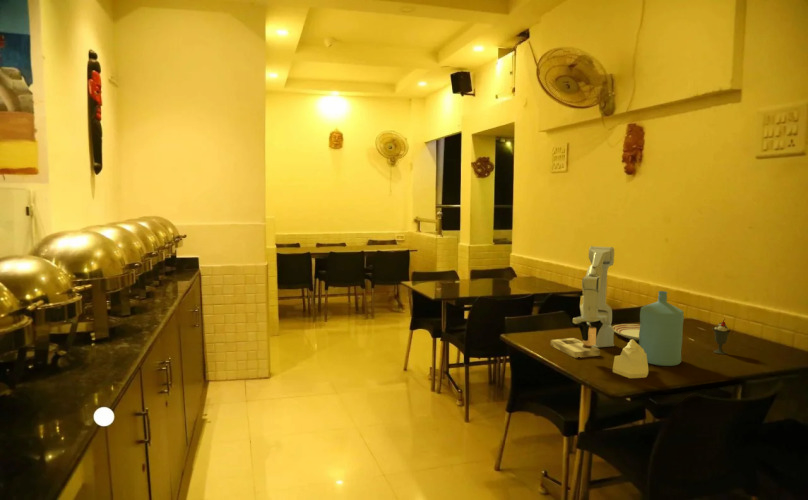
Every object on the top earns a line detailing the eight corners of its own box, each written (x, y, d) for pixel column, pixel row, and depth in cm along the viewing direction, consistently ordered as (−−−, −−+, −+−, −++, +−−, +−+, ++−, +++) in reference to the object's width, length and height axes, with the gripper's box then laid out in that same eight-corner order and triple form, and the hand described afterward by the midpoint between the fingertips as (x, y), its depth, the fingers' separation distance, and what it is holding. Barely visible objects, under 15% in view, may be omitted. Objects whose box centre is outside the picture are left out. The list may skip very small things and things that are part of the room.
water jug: (679, 369, 197) (683, 297, 194) (635, 362, 206) (638, 293, 203) (682, 358, 211) (686, 290, 207) (640, 352, 219) (643, 286, 216)
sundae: (723, 356, 213) (725, 320, 212) (707, 351, 219) (709, 317, 218) (732, 353, 216) (735, 318, 215) (717, 349, 222) (719, 315, 221)
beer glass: (594, 327, 258) (595, 298, 256) (580, 327, 259) (581, 297, 258) (592, 324, 265) (593, 295, 263) (578, 323, 266) (579, 294, 264)
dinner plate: (633, 326, 261) (633, 320, 260) (688, 339, 238) (688, 332, 238) (599, 335, 246) (599, 328, 245) (654, 349, 223) (654, 342, 222)
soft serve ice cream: (660, 381, 189) (664, 348, 184) (619, 385, 189) (621, 351, 184) (645, 362, 201) (648, 330, 196) (606, 365, 201) (608, 333, 196)
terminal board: (574, 343, 232) (574, 329, 231) (599, 355, 214) (600, 340, 214) (550, 345, 228) (550, 331, 228) (574, 358, 211) (575, 342, 210)
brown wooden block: (590, 342, 209) (590, 325, 208) (595, 345, 205) (596, 327, 204) (582, 343, 208) (583, 326, 207) (588, 345, 204) (588, 328, 203)
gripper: (580, 309, 199) (579, 344, 200) (612, 307, 203) (611, 341, 204) (570, 305, 206) (568, 339, 207) (601, 303, 210) (599, 336, 211)
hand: (589, 339), depth 206 cm, fingers closed on brown wooden block, 3 cm apart
